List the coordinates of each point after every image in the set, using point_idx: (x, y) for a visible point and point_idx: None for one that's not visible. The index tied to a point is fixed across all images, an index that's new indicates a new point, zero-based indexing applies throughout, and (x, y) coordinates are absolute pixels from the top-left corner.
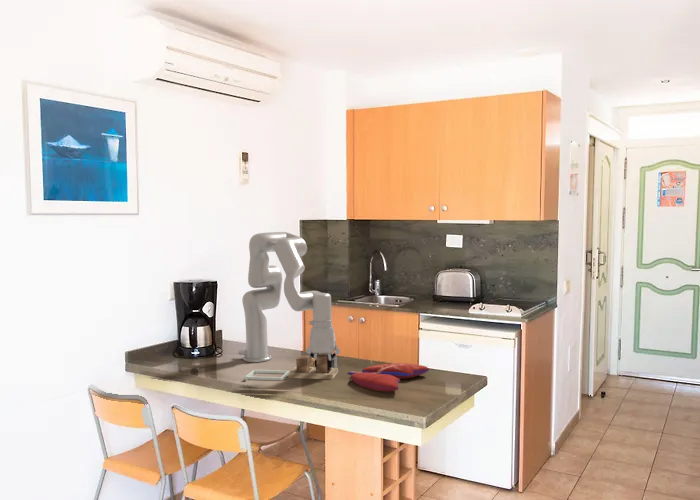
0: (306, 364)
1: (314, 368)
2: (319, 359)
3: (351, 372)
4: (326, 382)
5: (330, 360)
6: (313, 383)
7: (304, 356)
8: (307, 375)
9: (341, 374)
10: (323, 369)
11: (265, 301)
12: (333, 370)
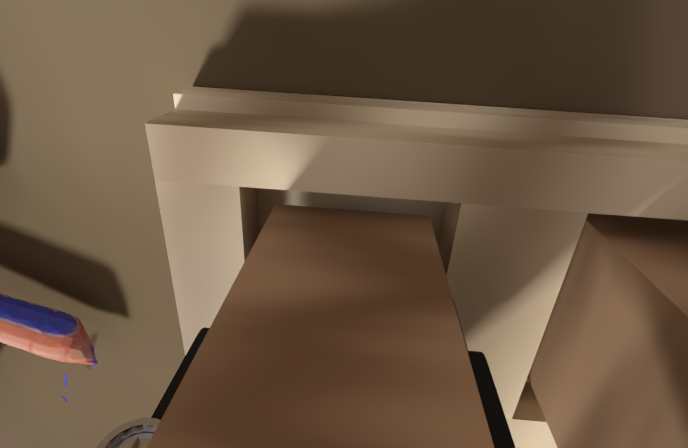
0: (683, 352)
1: None
2: (390, 407)
3: (21, 320)
4: (272, 70)
5: (139, 419)
6: (455, 5)
7: None
8: (583, 146)
9: None
10: (313, 243)
11: None
12: None
